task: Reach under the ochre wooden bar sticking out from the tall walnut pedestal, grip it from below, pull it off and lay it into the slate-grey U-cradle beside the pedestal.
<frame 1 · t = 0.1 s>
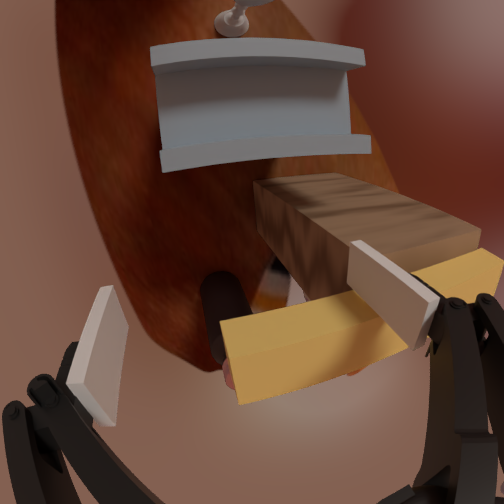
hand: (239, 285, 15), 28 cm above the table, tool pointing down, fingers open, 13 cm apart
grey u cradle: (226, 116, 36), on the table
chalice: (231, 24, 30), on the table
walnut pedestal: (297, 200, 44), on the table
ochre bar: (392, 301, 18), point 28 cm above the table, touching walnut pedestal
bottle: (220, 288, 47), on the table
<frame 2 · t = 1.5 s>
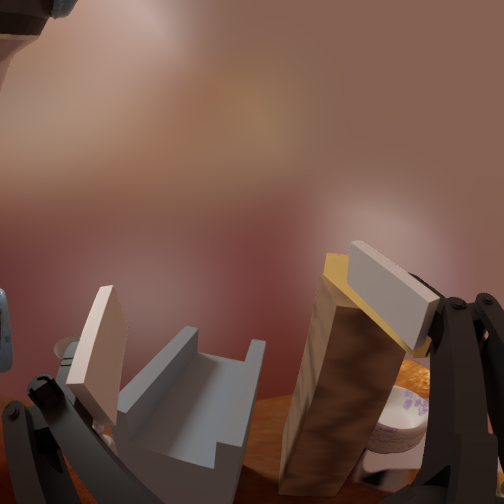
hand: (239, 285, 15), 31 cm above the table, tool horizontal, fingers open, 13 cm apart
grey u cradle: (198, 496, 24), on the table
chalice: (104, 450, 28), on the table
walnut pedestal: (306, 463, 33), on the table
paper bowls: (379, 438, 38), on the table
ochre bar: (370, 301, 25), point 28 cm above the table, touching walnut pedestal
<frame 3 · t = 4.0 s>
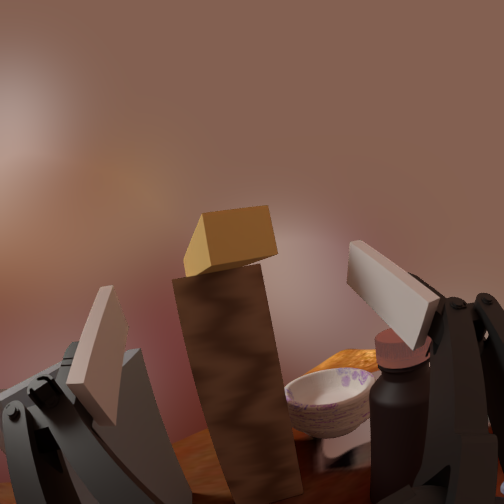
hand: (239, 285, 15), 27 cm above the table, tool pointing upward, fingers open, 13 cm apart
walnut pedestal: (259, 472, 29), on the table
paper bowls: (333, 424, 39), on the table
ochre bar: (213, 273, 27), point 28 cm above the table, touching walnut pedestal
bottle: (399, 493, 18), on the table
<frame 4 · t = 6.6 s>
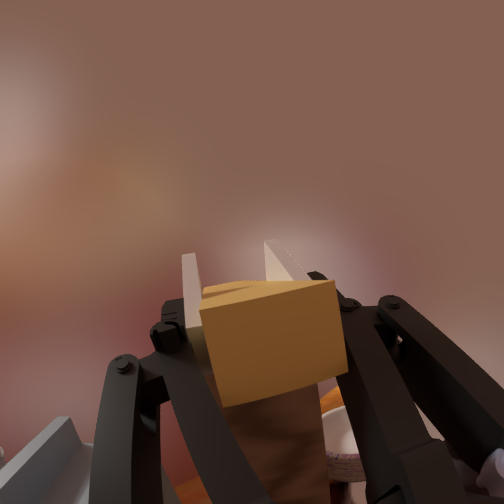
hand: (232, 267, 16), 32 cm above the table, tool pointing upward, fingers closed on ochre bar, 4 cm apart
paper bowls: (359, 463, 31), on the table
ochre bar: (239, 327, 19), point 28 cm above the table, touching gripper, walnut pedestal
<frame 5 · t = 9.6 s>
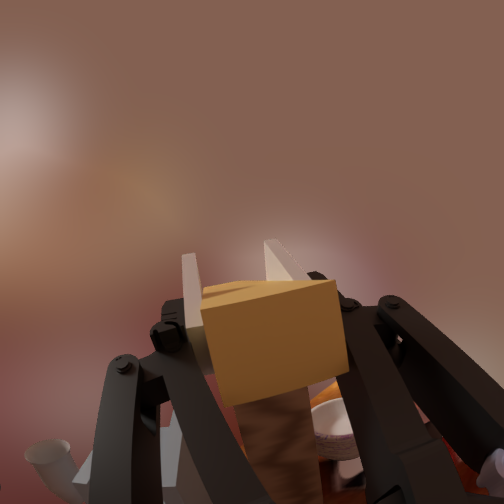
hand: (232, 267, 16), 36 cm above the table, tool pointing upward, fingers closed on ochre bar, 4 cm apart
walnut pedestal: (285, 492, 31), on the table
paper bowls: (347, 446, 41), on the table
ochre bar: (240, 327, 19), point 32 cm above the table, touching gripper
when the fingers open (25 cm above the table, at t = 13.0 s): ochre bar drops 2 cm, resting on grey u cradle.
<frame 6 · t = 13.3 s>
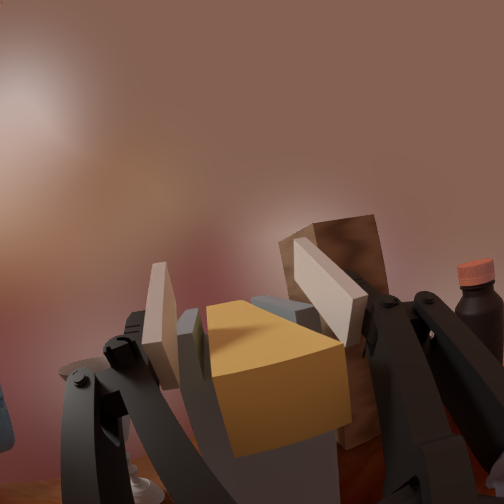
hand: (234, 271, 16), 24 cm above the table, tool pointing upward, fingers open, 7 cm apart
grey u cradle: (273, 491, 22), on the table
chalice: (145, 497, 21), on the table
walnut pedestal: (349, 418, 34), on the table
ochre bar: (243, 355, 19), point 18 cm above the table, touching grey u cradle
bottle: (474, 412, 23), on the table
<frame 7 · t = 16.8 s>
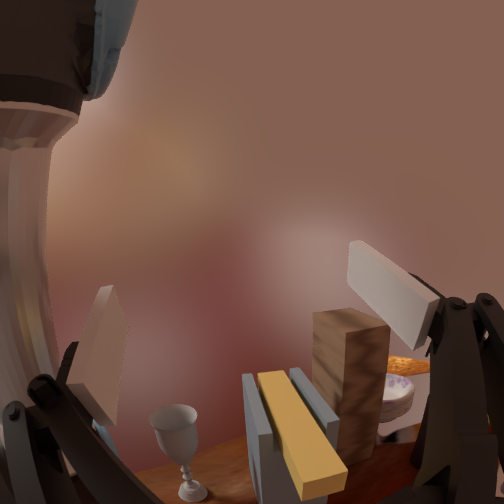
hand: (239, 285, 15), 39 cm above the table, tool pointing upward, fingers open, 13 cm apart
grey u cradle: (282, 492, 33), on the table
chalice: (193, 493, 33), on the table
walnut pedestal: (339, 444, 45), on the table
paper bowls: (379, 413, 54), on the table
ochre bar: (290, 430, 29), point 18 cm above the table, touching grey u cradle
bottle: (426, 459, 33), on the table
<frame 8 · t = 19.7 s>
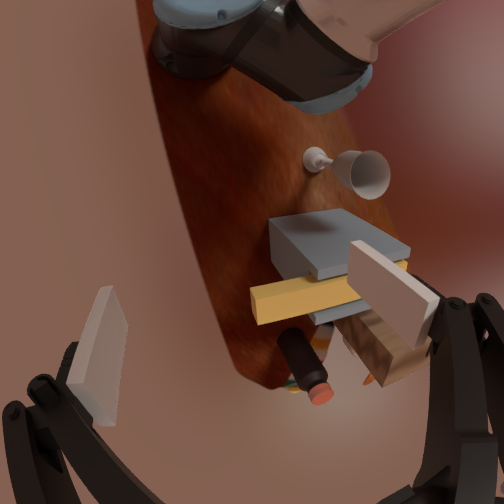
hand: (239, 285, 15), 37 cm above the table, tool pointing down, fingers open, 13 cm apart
grey u cradle: (307, 234, 57), on the table
chalice: (314, 159, 51), on the table
walnut pedestal: (344, 282, 64), on the table
ochre bar: (331, 282, 40), point 18 cm above the table, touching grey u cradle
bottle: (290, 337, 68), on the table
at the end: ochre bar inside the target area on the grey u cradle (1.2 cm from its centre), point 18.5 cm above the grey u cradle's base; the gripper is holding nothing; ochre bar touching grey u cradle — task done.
